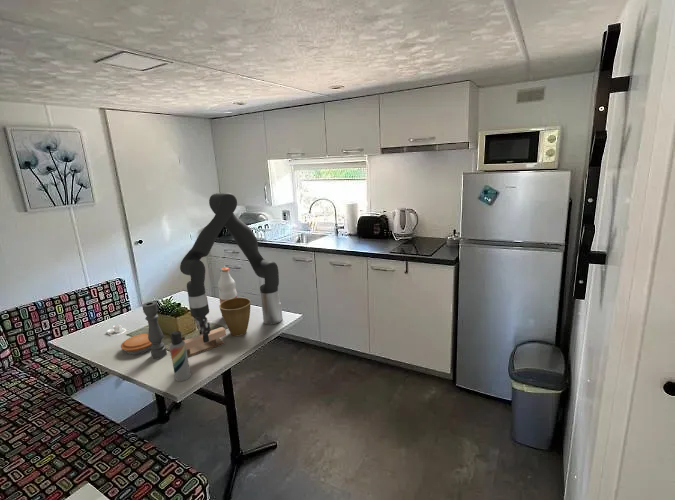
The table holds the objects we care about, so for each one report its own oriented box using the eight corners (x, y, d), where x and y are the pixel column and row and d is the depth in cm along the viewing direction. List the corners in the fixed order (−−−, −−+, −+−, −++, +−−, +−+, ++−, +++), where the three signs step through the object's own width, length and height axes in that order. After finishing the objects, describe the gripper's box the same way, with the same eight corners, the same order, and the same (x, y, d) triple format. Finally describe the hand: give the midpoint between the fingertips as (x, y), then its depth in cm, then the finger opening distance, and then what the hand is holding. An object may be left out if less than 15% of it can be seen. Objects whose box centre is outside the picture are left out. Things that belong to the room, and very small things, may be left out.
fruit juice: (219, 317, 200) (212, 269, 194) (234, 311, 207) (228, 265, 200) (227, 321, 194) (220, 272, 187) (242, 316, 200) (236, 268, 193)
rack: (213, 334, 181) (211, 321, 179) (224, 344, 170) (222, 330, 168) (171, 348, 169) (169, 334, 167) (180, 359, 158) (177, 345, 156)
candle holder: (151, 360, 159) (141, 307, 153) (151, 354, 164) (141, 303, 158) (167, 356, 161) (157, 304, 155) (166, 350, 167) (157, 300, 161)
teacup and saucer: (104, 335, 187) (102, 327, 186) (118, 328, 194) (116, 321, 193) (116, 337, 184) (114, 330, 183) (130, 330, 191) (128, 323, 190)
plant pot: (221, 330, 184) (216, 301, 180) (249, 323, 190) (246, 295, 186) (226, 343, 171) (222, 311, 167) (257, 334, 177) (253, 304, 173)
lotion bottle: (178, 374, 147) (170, 329, 142) (192, 372, 148) (185, 328, 143) (173, 382, 142) (164, 336, 137) (188, 380, 142) (180, 334, 137)
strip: (223, 332, 165) (222, 326, 165) (226, 335, 163) (225, 329, 162) (182, 347, 154) (181, 341, 153) (185, 350, 152) (184, 344, 151)
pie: (163, 347, 170) (161, 337, 169) (127, 360, 160) (125, 350, 159) (152, 337, 181) (150, 328, 180) (118, 349, 171) (116, 339, 170)
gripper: (213, 305, 151) (219, 342, 155) (201, 297, 162) (207, 331, 166) (195, 311, 146) (201, 349, 151) (184, 302, 157) (191, 337, 162)
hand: (204, 339), depth 158 cm, fingers closed on strip, 3 cm apart
